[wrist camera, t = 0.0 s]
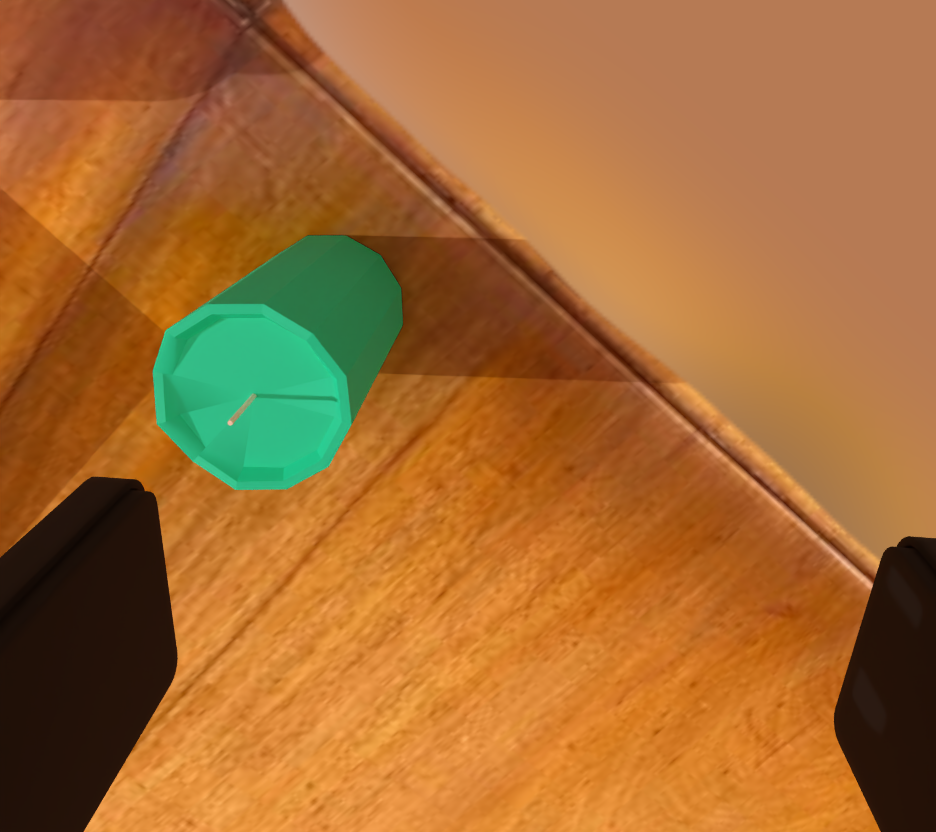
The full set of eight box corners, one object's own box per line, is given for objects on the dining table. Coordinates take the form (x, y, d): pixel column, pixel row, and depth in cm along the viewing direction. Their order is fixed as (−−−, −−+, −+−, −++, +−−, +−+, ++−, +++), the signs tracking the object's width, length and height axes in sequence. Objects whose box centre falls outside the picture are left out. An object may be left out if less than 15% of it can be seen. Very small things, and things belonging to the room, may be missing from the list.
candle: (323, 200, 30) (206, 267, 19) (434, 306, 32) (385, 425, 21) (232, 305, 32) (79, 420, 21) (340, 401, 33) (249, 555, 22)
